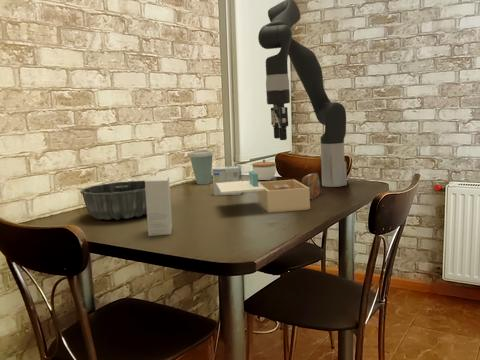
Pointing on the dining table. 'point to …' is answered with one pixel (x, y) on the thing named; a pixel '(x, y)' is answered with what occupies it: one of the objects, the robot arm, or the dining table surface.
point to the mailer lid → (241, 185)
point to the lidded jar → (264, 170)
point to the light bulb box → (225, 177)
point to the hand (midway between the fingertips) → (280, 139)
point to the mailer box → (284, 196)
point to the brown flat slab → (312, 184)
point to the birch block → (281, 187)
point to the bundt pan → (116, 200)
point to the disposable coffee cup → (202, 165)
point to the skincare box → (158, 205)
